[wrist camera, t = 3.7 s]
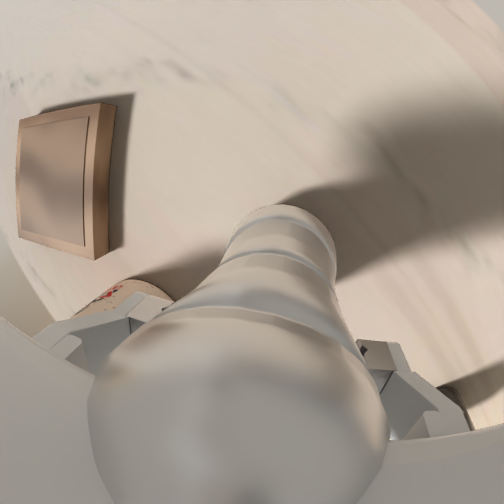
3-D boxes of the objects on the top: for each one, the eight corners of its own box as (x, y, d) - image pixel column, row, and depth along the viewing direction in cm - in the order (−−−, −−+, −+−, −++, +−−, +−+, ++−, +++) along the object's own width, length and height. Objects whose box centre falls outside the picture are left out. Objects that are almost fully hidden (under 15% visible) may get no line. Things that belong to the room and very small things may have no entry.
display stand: (33, 119, 18) (19, 119, 16) (116, 106, 17) (99, 102, 15) (31, 232, 22) (18, 237, 20) (109, 252, 21) (93, 260, 19)
